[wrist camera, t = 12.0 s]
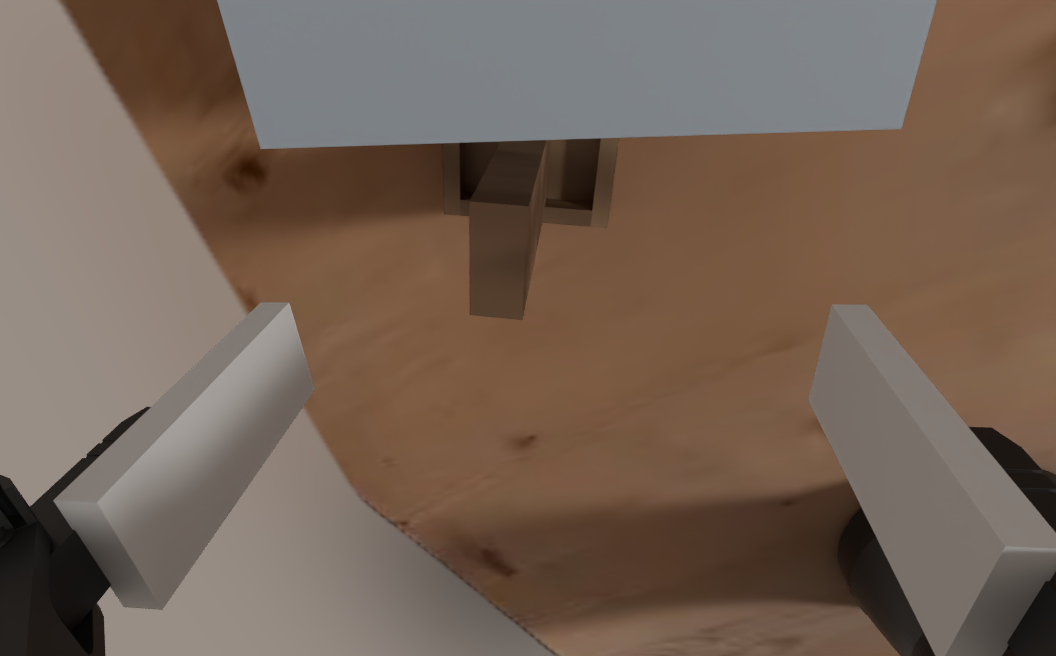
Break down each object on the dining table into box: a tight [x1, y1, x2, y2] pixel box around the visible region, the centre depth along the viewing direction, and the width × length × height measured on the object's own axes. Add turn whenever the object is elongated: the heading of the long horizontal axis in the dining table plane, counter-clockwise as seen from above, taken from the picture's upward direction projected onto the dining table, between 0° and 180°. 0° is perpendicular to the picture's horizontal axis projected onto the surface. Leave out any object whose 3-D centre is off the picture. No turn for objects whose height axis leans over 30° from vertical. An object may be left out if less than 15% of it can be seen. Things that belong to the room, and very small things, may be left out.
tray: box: [442, 138, 619, 320], centre depth 21 cm, size 16×8×12 cm, turn 177°
